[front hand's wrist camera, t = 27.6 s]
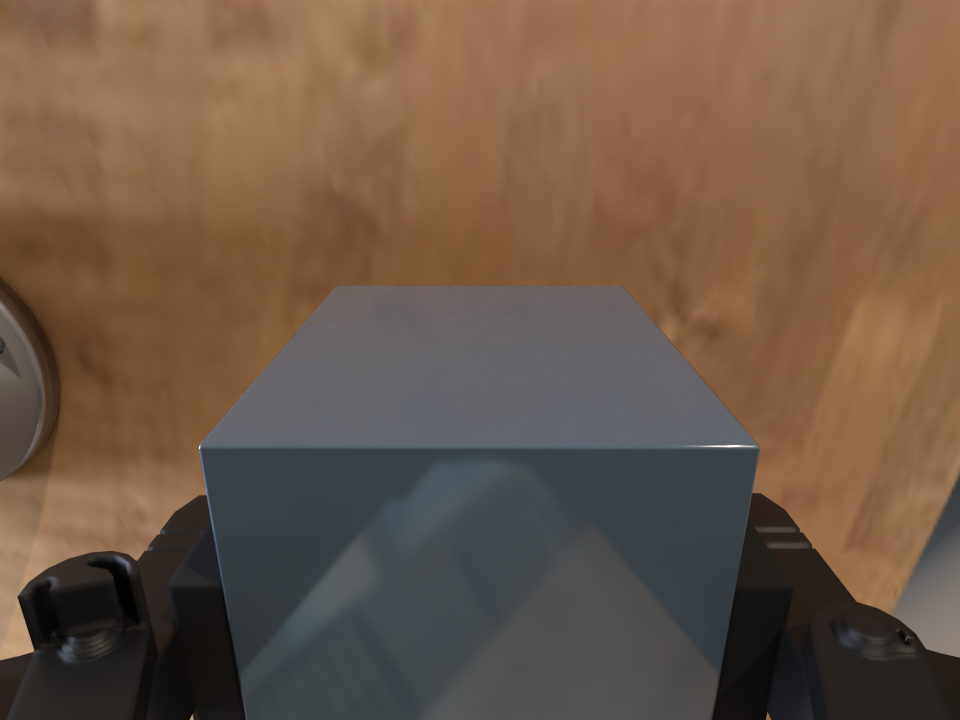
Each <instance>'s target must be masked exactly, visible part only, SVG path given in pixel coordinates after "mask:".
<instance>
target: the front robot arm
mask: <svg viewBox="0 0 960 720" xmlns="http://www.w3.org/2000/svg"><path fill="white" fill-rule="evenodd" d="M59 400H60V384H59V376H58V371H57V366H56V362H55V359H54V356H53V353H52V350H51V347H50V345H49V343H48V340H47V338H46V336H45V334H44V332H43V330H42V329H41V327H40V325H39V323H38V322H37V320H36V319H35V317H34V316H33V314H32V313H31V311H30V310H29V309H28V307H27V306H26V305H25V304H24V302H23V301H22V300H21V299H20V298H19V296H18V295H17V294H16V293H15V292H14V291H13V290H12V289H11V288H10V287H9V286H8V285H7V284H6V283H5V282H4V281H3V280H2V279H1V278H0V481H2V480H3V479H5V478H6V477H7V476H9V475H10V474H11V473H13V472H14V471H15V470H17V469H18V468H19V467H21V466H22V465H23V464H25V463H26V462H27V461H28V460H30V459H31V458H32V457H33V456H34V455H35V454H36V453H37V452H38V451H39V450H40V449H41V448H42V446H43V445H44V443H45V442H46V441H47V439H48V437H49V435H50V433H51V431H52V430H53V427H54V424H55V421H56V418H57V414H58V409H59ZM18 600H19V603H20V606H21V609H22V613H23V616H24V619H25V622H26V625H27V628H28V631H29V635H30V638H31V641H32V644H33V647H34V652H32V653H28V654H25V655H22V656H18V657H13V658H9V659H4V660H0V720H190V718H191V716H192V714H193V718H194V720H246V718H245V712H244V706H243V701H242V695H241V689H240V683H239V678H238V672H237V666H236V660H235V655H234V649H233V643H232V637H231V632H230V626H229V620H228V614H227V608H226V603H225V597H224V591H223V585H222V580H221V574H220V568H219V562H218V557H217V551H216V545H215V539H214V534H213V528H212V522H211V516H210V511H209V505H208V499H207V495H199V496H198V497H196V498H195V499H193V500H192V501H190V502H189V503H187V504H186V505H185V506H183V507H182V508H180V509H179V510H177V511H176V512H175V513H174V514H173V515H172V517H171V518H170V519H169V521H168V522H167V523H166V524H165V526H164V527H163V528H162V530H161V531H160V535H157V536H156V537H155V539H154V540H153V541H152V542H151V544H150V545H149V546H148V551H145V552H144V553H143V554H142V555H141V557H140V558H139V559H138V561H136V560H134V559H133V558H132V557H131V556H129V555H128V554H124V553H119V552H114V551H105V552H93V553H88V554H84V555H81V556H77V557H73V558H70V559H67V560H65V561H63V562H61V563H59V564H57V565H54V566H52V567H50V568H48V569H46V570H45V571H43V572H42V573H41V574H39V575H38V576H37V577H35V578H34V579H33V580H31V581H30V582H29V583H28V584H27V585H26V586H25V588H24V589H23V590H22V592H21V593H20V594H19V595H18ZM767 711H768V713H769V715H770V718H771V720H960V658H959V657H954V656H950V655H946V654H941V653H937V652H934V651H930V650H927V649H926V648H925V647H924V645H923V644H922V642H921V641H920V640H919V638H918V637H917V635H916V634H915V633H914V632H913V631H912V630H911V629H909V628H908V627H907V626H906V625H905V624H903V623H902V622H901V621H900V620H899V619H897V618H895V617H893V616H891V615H889V614H887V613H885V612H883V611H882V610H880V609H878V608H875V607H871V606H868V605H865V604H862V603H858V602H856V601H855V599H854V598H853V597H852V595H851V594H850V593H849V592H848V590H847V589H846V588H845V586H844V585H843V584H842V583H841V581H840V580H839V579H838V577H837V576H836V575H835V574H834V572H833V571H832V570H831V568H830V567H829V566H828V565H827V563H826V562H825V561H824V559H823V558H822V557H821V556H820V554H819V553H818V552H817V550H816V549H812V544H811V543H810V541H809V540H808V539H807V538H806V536H805V535H804V534H803V533H800V529H799V527H798V526H797V525H796V523H795V522H794V521H793V520H792V518H791V517H790V516H789V514H788V513H787V512H786V511H785V510H784V509H783V508H781V507H780V506H779V505H777V504H776V503H774V502H773V501H771V500H770V499H768V498H767V497H765V496H764V495H762V494H761V493H752V497H751V503H750V508H749V514H748V520H747V525H746V531H745V537H744V542H743V548H742V554H741V560H740V565H739V571H738V577H737V582H736V588H735V594H734V599H733V605H732V611H731V616H730V622H729V628H728V634H727V639H726V645H725V651H724V656H723V662H722V668H721V673H720V679H719V685H718V690H717V696H716V702H715V707H714V713H713V719H712V720H766V716H767Z"/></svg>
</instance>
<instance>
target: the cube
mask: <svg viewBox="0 0 960 720" xmlns="http://www.w3.org/2000/svg"><path fill="white" fill-rule="evenodd" d="M759 451H760V447H759V445H758V443H757V442H756V441H755V440H754V439H753V438H752V436H751V435H750V434H749V433H748V432H747V431H746V429H745V428H744V427H743V426H742V425H741V423H740V422H739V421H738V420H737V419H736V418H735V416H734V415H733V414H732V413H731V412H730V411H729V409H728V408H727V407H726V406H725V405H724V404H723V402H722V401H721V400H720V399H719V398H718V396H717V395H716V394H715V393H714V392H713V391H712V389H711V388H710V387H709V386H708V385H707V384H706V382H705V381H704V380H703V379H702V378H701V376H700V375H699V374H698V373H697V372H696V371H695V369H694V368H693V367H692V366H691V365H690V364H689V362H688V361H687V360H686V359H685V358H684V357H683V355H682V354H681V353H680V352H679V351H678V349H677V348H676V347H675V346H674V345H673V344H672V342H671V341H670V340H669V339H668V338H667V337H666V335H665V334H664V333H663V332H662V331H661V330H660V328H659V327H658V326H657V325H656V324H655V322H654V321H653V320H652V319H651V318H650V317H649V315H648V314H647V313H646V312H645V311H644V310H643V308H642V307H641V306H640V305H639V304H638V302H637V301H636V300H635V299H634V298H633V297H632V295H631V294H630V293H629V292H628V291H627V290H626V288H625V287H624V286H452V285H337V286H336V287H335V288H334V289H333V290H332V291H331V292H330V294H329V295H328V296H327V297H326V298H325V299H324V300H323V302H322V303H321V304H320V305H319V306H318V307H317V309H316V310H315V311H314V312H313V313H312V314H311V316H310V317H309V318H308V319H307V320H306V321H305V323H304V324H303V325H302V326H301V327H300V328H299V330H298V331H297V332H296V333H295V334H294V335H293V336H292V338H291V339H290V340H289V341H288V342H287V343H286V345H285V346H284V347H283V348H282V349H281V350H280V352H279V353H278V354H277V355H276V356H275V357H274V359H273V360H272V361H271V362H270V363H269V364H268V366H267V367H266V368H265V369H264V370H263V371H262V372H261V374H260V375H259V376H258V377H257V378H256V379H255V381H254V382H253V383H252V384H251V385H250V386H249V388H248V389H247V390H246V391H245V392H244V393H243V395H242V396H241V397H240V398H239V399H238V400H237V402H236V403H235V404H234V405H233V406H232V407H231V408H230V410H229V411H228V412H227V413H226V414H225V415H224V417H223V418H222V419H221V420H220V421H219V422H218V424H217V425H216V426H215V427H214V428H213V429H212V431H211V432H210V433H209V434H208V435H207V436H206V438H205V439H204V440H203V441H202V442H201V443H200V445H199V453H200V459H201V465H202V470H203V476H204V482H205V488H206V493H207V499H208V505H209V511H210V516H211V522H212V528H213V534H214V539H215V545H216V551H217V557H218V562H219V568H220V574H221V580H222V585H223V591H224V597H225V603H226V608H227V614H228V620H229V626H230V632H231V637H232V643H233V649H234V655H235V660H236V666H237V672H238V678H239V683H240V689H241V695H242V701H243V706H244V712H245V718H246V720H712V719H713V713H714V707H715V702H716V696H717V690H718V685H719V679H720V673H721V668H722V662H723V656H724V651H725V645H726V639H727V634H728V628H729V622H730V616H731V611H732V605H733V599H734V594H735V588H736V582H737V577H738V571H739V565H740V560H741V554H742V548H743V542H744V537H745V531H746V525H747V520H748V514H749V508H750V503H751V497H752V491H753V486H754V480H755V474H756V469H757V463H758V457H759Z"/></svg>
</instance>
